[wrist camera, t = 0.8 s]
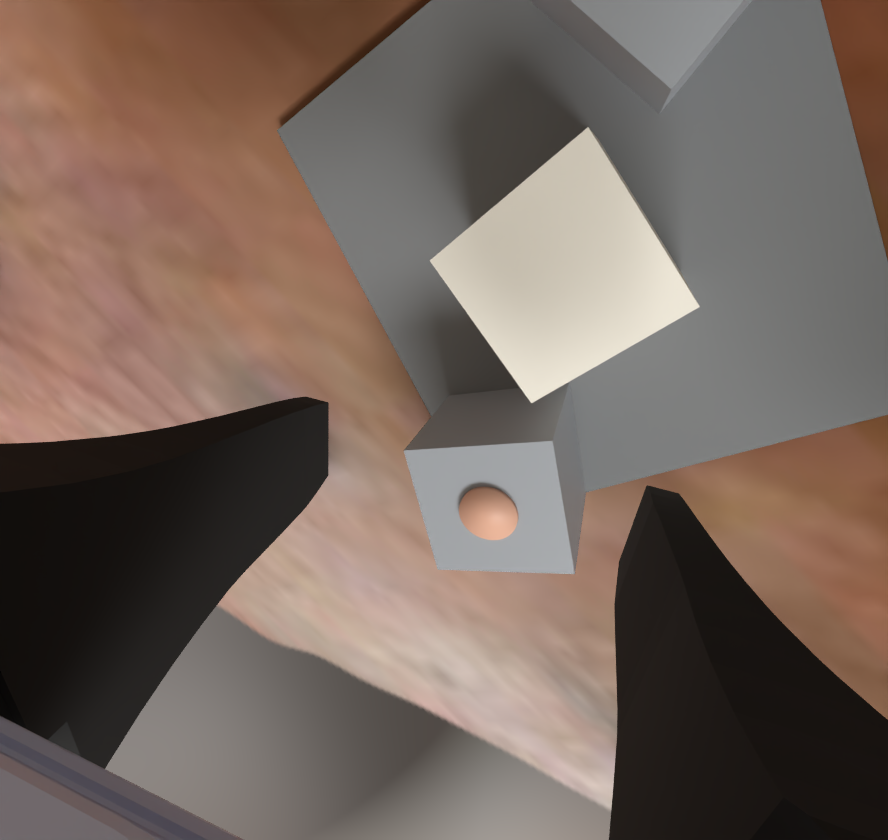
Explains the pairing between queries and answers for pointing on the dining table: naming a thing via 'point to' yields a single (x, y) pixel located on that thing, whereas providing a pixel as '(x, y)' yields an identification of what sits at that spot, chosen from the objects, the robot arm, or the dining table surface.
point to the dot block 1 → (501, 482)
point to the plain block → (565, 271)
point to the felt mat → (660, 197)
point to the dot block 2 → (647, 38)
